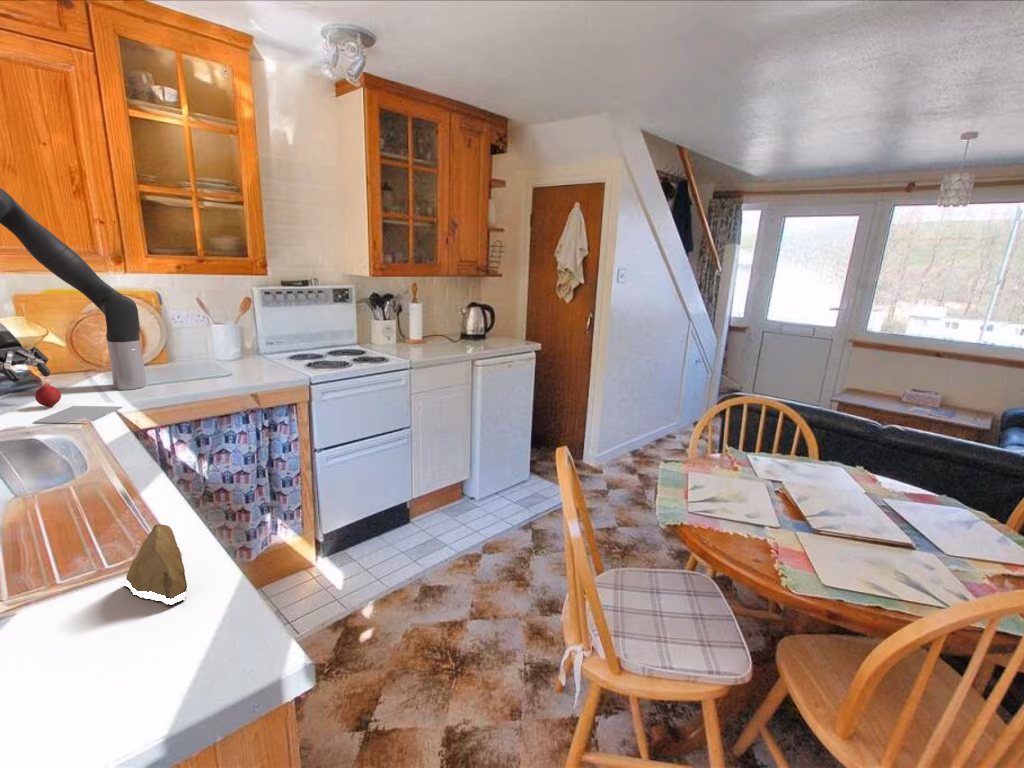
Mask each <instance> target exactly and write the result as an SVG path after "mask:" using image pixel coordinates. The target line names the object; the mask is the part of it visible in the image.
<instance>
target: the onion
mask: <svg viewBox="0 0 1024 768" xmlns="http://www.w3.org/2000/svg"><path fill="white" fill-rule="evenodd" d="M34 398H35V401H36V402H37V403H38V404H39V405H42V406H44V407H46V408H48V409H49V408H50V409H51V408H54V406H55V405H56V404H58V403H59V402H60V401H61V399H62V393H61V392H60V390H59V389H58V388H56V387H54V386H52V385H50V382H45V383H44V384H43V385H42V386H40V387H39V388H38V389H37V390H36V392H35V394H34Z"/></svg>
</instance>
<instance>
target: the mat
mask: <svg viewBox="0 0 1024 768" xmlns="http://www.w3.org/2000/svg"><path fill="white" fill-rule="evenodd" d="M122 408H123V406H115V405H113V406H111V405H110V406H109V405H107V406H106V405H105V406H103V405H102V406H101V405H100V406H99V405H72V406H70V407H67V408H65V409H64V408H63V409H62V410H60V411H57V412H55V413H51V414H50V415H47V416H45V417H42V418H39V419H37V420H34V421H33V422H34V423H69V422H72V421H75V420H79V419H84V418H85V419H88V420H90V421H93V422H95V421H97V420H100V419H101V418H103V416H104V415H106V414H108V413H110V414H112V413H115V412H117V411H118V410H120V409H121V410H122ZM111 412H112V413H111ZM108 415H109V414H108ZM106 416H107V415H106ZM104 417H105V416H104Z"/></svg>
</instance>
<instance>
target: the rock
mask: <svg viewBox="0 0 1024 768" xmlns="http://www.w3.org/2000/svg"><path fill="white" fill-rule="evenodd" d="M144 539H145V540H143V543H142V545H141V546H140V549H139V550H138V552H137V556H136V557H135V558H134V560H133V561H132V563H131V565H130V566H129V570H128V571H127V574H126V580H128V581H129V582H130V583H131V585H132V587H133V588H135V589H136V590H137V591H147V592H149V591H152V592H155V593H157V594H161V595H165V596H166V598H170V599H171V598H174V597H175V596H177V595H179V594H181V593H183V592H185V591H186V592H187V588H188V583H187V579H186V574H185V571H186V570H185V565H184V564H183V563H184V562H183V557H182V555H181V550H180V547H179V546H178V543H177V540H176V537H175V534H174V531H173V529H172V528H171V526H170V525H166V524H160V523H158V524H155V525H154V526H153V527H152V529H151V531H150V532H149V533H148V535H147V536H146V538H144Z"/></svg>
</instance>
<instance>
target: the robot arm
mask: <svg viewBox="0 0 1024 768" xmlns="http://www.w3.org/2000/svg"><path fill="white" fill-rule="evenodd" d="M0 225H2V226H3V227H4V228H6V229H7V230H9V232H11V233H12V235H14V236H15V237H16V238H17V239H18V241H20V243H21V244H22V245H23V247H24V248H25V249H26V251H28V252H29V254H30V255H31V256H32V257H33V258H34V259H35V260H36V261H37V262H38V263H40V264H41V266H43V267H44V268H45V269H47V270H48V271H50V272H51V273H52V274H53V275H55V276H56V277H57V278H58V279H60V280H62V281H63V282H65V283H66V284H68V285H69V286H71V287H72V288H74V289H75V290H78V291H79V292H80V293H81V294H83V295H84V296H85V297H86V298H87V299H88V300H89V301H91V303H92V304H94V305H95V306H96V308H98V309H99V310H100V311H101V312H102V314H103V315H104V317H105V322H106V323H105V324H106V325H105V326H106V334H105V335H106V336H105V337H106V343H107V349H108V356H109V363H110V370H111V376H112V384H113V388H114V389H115V390H120V391H121V390H122V391H123V390H124V391H127V390H128V391H129V390H136V389H141V388H144V387H146V385H147V379H146V371H145V364H144V359H143V355H142V348H141V341H140V340H141V339H140V334H141V333H140V331H141V328H140V327H141V326H140V317H139V309H138V306H137V303H136V302H135V300H134V299H132V298H131V297H128V296H126V295H125V294H122V293H121V292H119V291H118V290H116V289H114V288H113V287H112V286H111V285H109V284H108V283H106V282H105V281H104V280H103V279H102V278H101V277H100V276H99V275H97V273H96V272H95V271H94V270H93V269H92V268H91V266H90V265H89V264H88V263H87V262H86V260H85V259H83V258H82V257H81V256H80V255H79V254H78V253H77V252H76V251H74V250H72V248H71V247H69V246H68V245H67V244H66V243H64V242H63V241H62V240H61V239H59V238H58V237H57V236H56V235H55V234H53V232H51V231H50V230H48V229H47V228H46V227H44V225H42V224H41V223H39V222H38V221H37V220H36V219H34V218H33V217H32V216H31V215H30V214H29V213H28V212H27V211H26V210H25V209H24V208H23V207H22V206H21V205H20V204H19V203H18V202H17V201H16V200H15V199H14V198H13V197H12V196H11V195H10V194H9V193H8V192H7V191H6V190H4V189H3V188H1V187H0ZM28 359H29V360H28ZM48 362H49V358H48V357H47V356H46V355H45V354H44V353H43V352H42V351H41V350H40V349H39V348H38V347H36V346H32V347H31V348H28V349H26V348H24V347H23V346H22V344H21V342H20V341H19V340H18V338H17V337H16V336H14V334H13V333H12V332H11V331H10V330H9V329H8V328H7V326H5V325H4V324H2V322H0V363H1V365H0V374H2V375H4V376H5V377H6V378H7V379H8V380H9V381H10V382H13V383H14V384H15V383H18V382H19V381H20V380H21V378H20V377H19V375H18V374H17V373H16V372H15V371H14V370H13V369H12V368H11V367H14V366H17V365H26V366H29V367H30V366H31V367H35V368H37V369H36V370H37V371H39V372H40V373H41V375H42V376H43V377H45V378H47V377H49V376H50V375H51V373H52V372H51V370H50V369H49V367H48V366H47V363H48Z"/></svg>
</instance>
